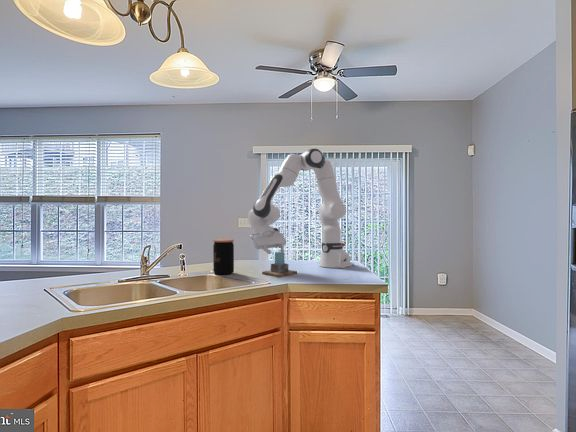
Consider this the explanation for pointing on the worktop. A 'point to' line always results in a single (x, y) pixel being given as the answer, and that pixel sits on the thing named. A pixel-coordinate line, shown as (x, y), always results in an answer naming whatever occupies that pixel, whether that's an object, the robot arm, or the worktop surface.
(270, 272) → the wooden block on base
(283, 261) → the post
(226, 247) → the coffee jar
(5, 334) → the worktop surface
